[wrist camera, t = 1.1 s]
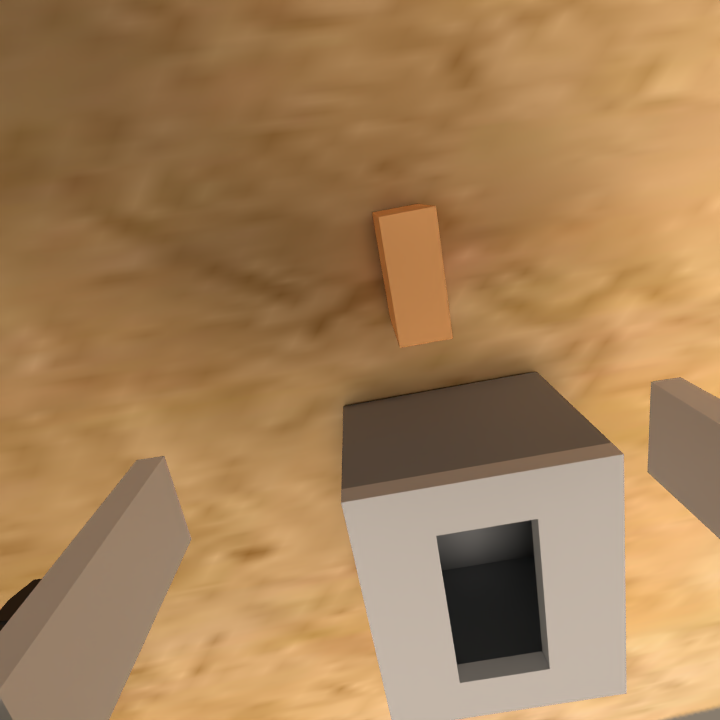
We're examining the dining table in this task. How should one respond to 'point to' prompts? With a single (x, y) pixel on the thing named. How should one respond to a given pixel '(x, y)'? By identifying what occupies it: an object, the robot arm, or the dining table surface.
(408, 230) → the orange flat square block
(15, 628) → the robot arm
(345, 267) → the dining table surface
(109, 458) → the dining table surface
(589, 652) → the box with rectangular hole
